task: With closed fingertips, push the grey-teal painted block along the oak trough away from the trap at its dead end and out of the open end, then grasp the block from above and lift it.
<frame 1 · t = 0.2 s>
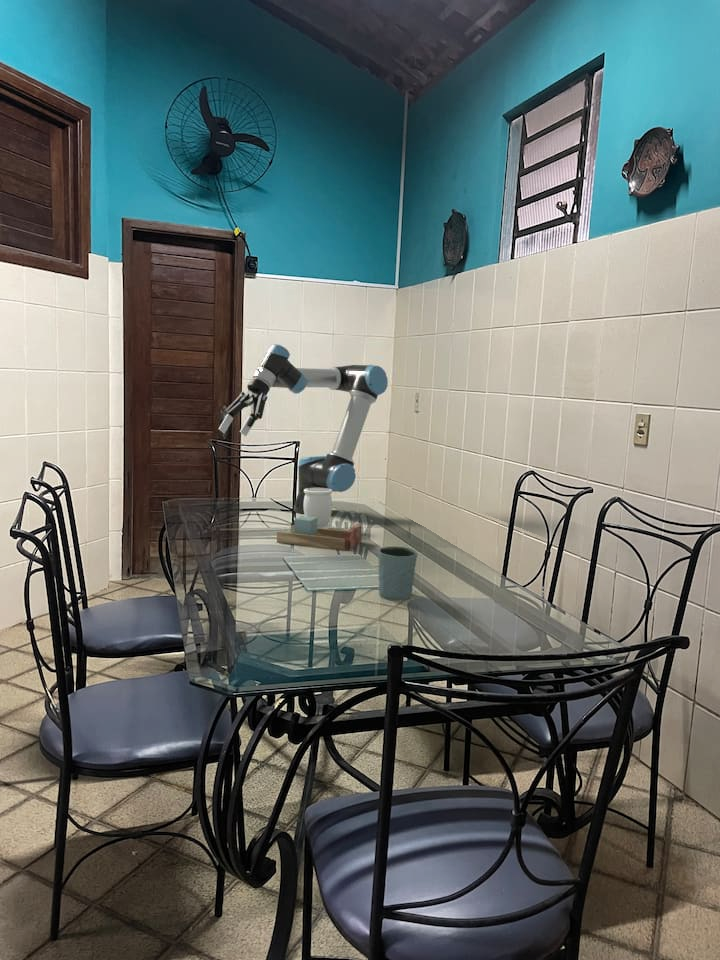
hand: (231, 432, 242), 36 cm above the table, tool tilted 35°, fingers open, 13 cm apart
block: (305, 541, 238), resting in trough
trough: (319, 542, 236), on the table
blue-grey cup: (396, 596, 182), on the table
jar: (317, 530, 256), on the table
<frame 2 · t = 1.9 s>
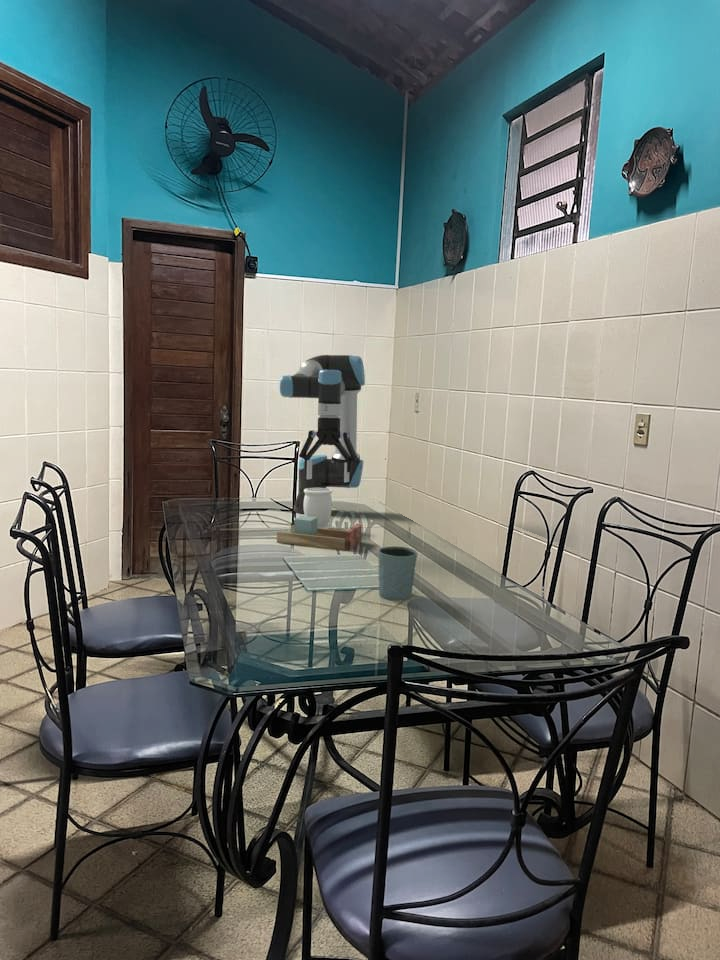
hand: (327, 480, 232), 22 cm above the table, tool pointing down, fingers open, 13 cm apart
nothing on the table moved.
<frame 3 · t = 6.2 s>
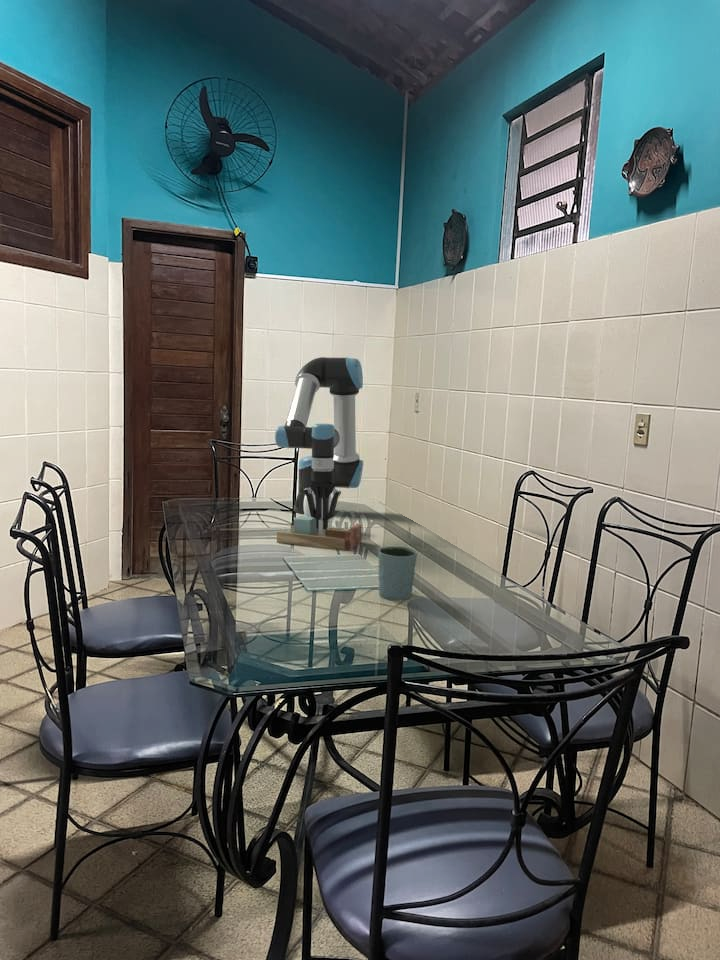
hand: (321, 538, 236), 2 cm above the table, tool pointing down, fingers closed
block: (305, 540, 238), resting in trough, touching gripper
everything else where it was.
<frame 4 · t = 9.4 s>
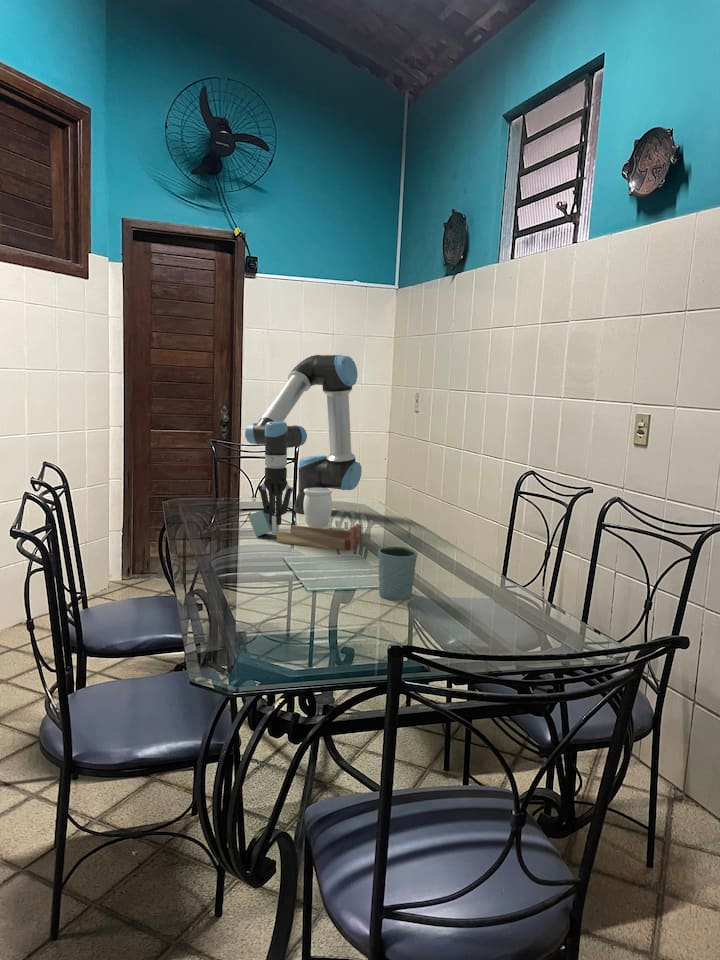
hand: (275, 533, 241), 1 cm above the table, tool pointing down, fingers closed
block: (267, 532, 243), point 1 cm above the table, tilted 24°, touching gripper
everything else where it was.
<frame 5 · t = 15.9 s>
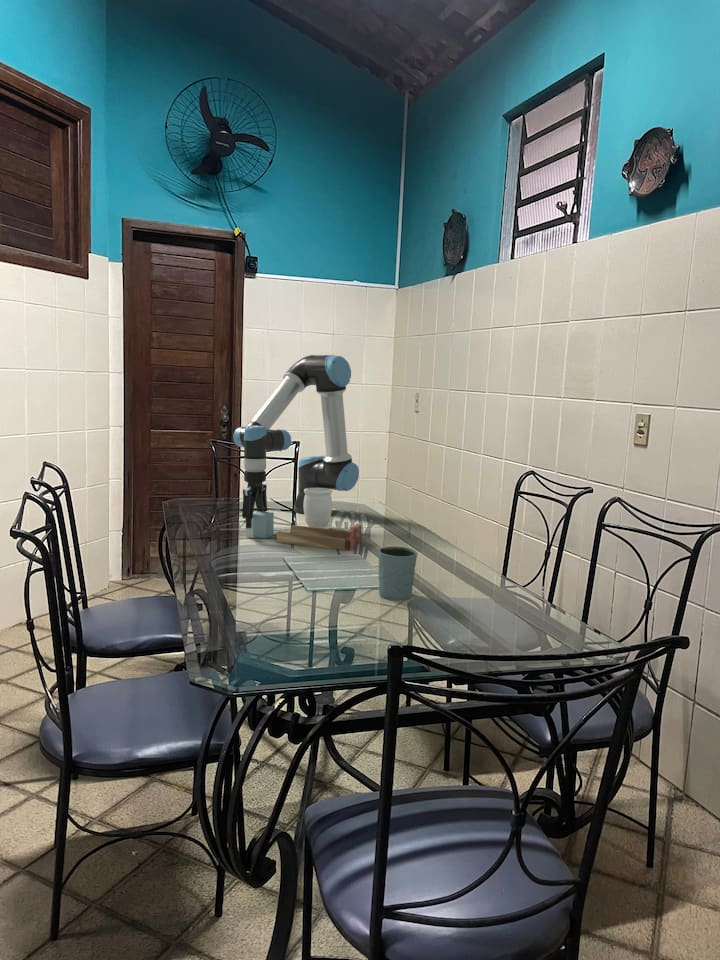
hand: (254, 534, 244), 0 cm above the table, tool pointing down, fingers open, 7 cm apart
block: (262, 535, 244), on the table, touching gripper
everything else where it was.
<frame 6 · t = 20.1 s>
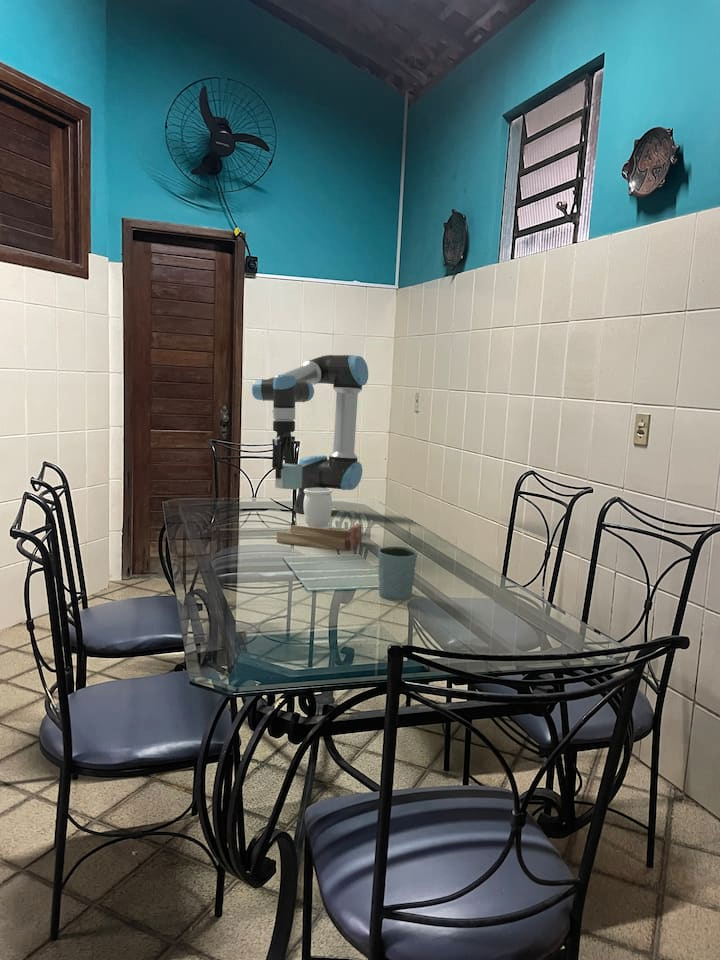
hand: (283, 486, 241), 18 cm above the table, tool pointing down, fingers closed on block, 6 cm apart
block: (290, 487, 241), point 18 cm above the table, touching gripper
everything else where it was.
at the end: the gripper is holding block; block point 17.5 cm above the table; block inside the target area (11.0 cm from its centre), point 17.5 cm above the table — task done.
